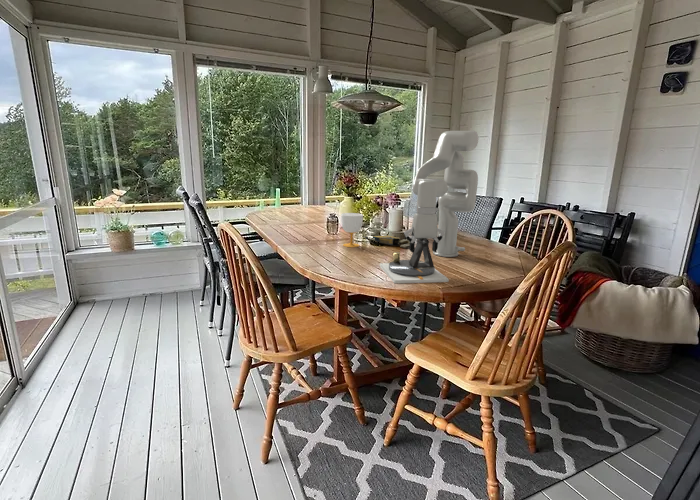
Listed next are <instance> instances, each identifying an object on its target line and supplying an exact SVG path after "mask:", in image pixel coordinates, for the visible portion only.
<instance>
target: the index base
mask: <svg viewBox="0 0 700 500" xmlns="http://www.w3.org/2000/svg"><path fill="white" fill-rule="evenodd" d="M389 263H390V262H389ZM389 263H381V262H380V263H379V267H380V269H381V270H382V271H383V272H384V273H385V274H386V275H387V277H388V278H389V279H390V280H391V281H392V282H393V284H415V283H416V284H418V283H419V284H420V283H422V284H423V283H425V284H426V283H449V281H450V279H449V278H448V277H447V276H446V275H444V274H443V273H441V272H440V271H439V270H437V269H436V268H435V271H434V273H433V274H431V275H427V276H406V275H401V274H397V273H394V272H392V271H390V270H389Z"/></svg>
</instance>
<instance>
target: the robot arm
mask: <svg viewBox="0 0 700 500" xmlns="http://www.w3.org/2000/svg"><path fill="white" fill-rule="evenodd" d="M478 143H479V133H478V132H477V131H476V130H447V131H443V132H442V133H441V134H440V135H439V137H438V139H437V143H436V146H435V149H434V152H433V155H432V157H431V158H430V159H429V160H427V161H426V162H424V163H423V164H422V165H421V166H420V167H419V168H418V169H417V171H416V173H415V177H414V180H413V184H412V193H413V194H414V195H415V196H416V197H417V198H416V200H417V201H416V202H417V203H416V213H414V214H413V218H412V223H411V228H409V229H407V230H405V231H404V232H403V234H404V237H405V239H407V240H408V241H409V242H410V246H409V248H408V249H409V251H410V252H411V254H413V253H414V249H415V247H416V241H417V239H423V238H424V239H425V238H426V239H428V240H429V239H432V240H433V241H432V246H431V251H432V253H433V254H434V255H435V256H438V257H445V258H454V257H458V256H459V252H465V251H466V248H465V246H464V247H463V246H462V247H461V246H458V245H457V241H458V239H457V238H458V227H459V218H458V216H457V215H456V213H457V212H458V213H472V212H473V211H474V210H475V206H476V201H477V192H478V184H479V177H478V172H477V170H474V169H464V163H465V158H464V156H463V154H462V152H471V151H473V150H475V149H476V148H477V147H478ZM443 170H444V176H443V179H441V178H427V177H428V176H430V175H432V174H435V173H438V172H440V171H443ZM448 189H450V190H451V189H452V190H465V191H466V192H462V191H448ZM437 198H438V200H437ZM437 202H438V203H437ZM437 204H438V207H437ZM437 212H438V215H437ZM455 212H456V213H455ZM409 234H411V237H410V235H409ZM414 241H415V243H414Z"/></svg>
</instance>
